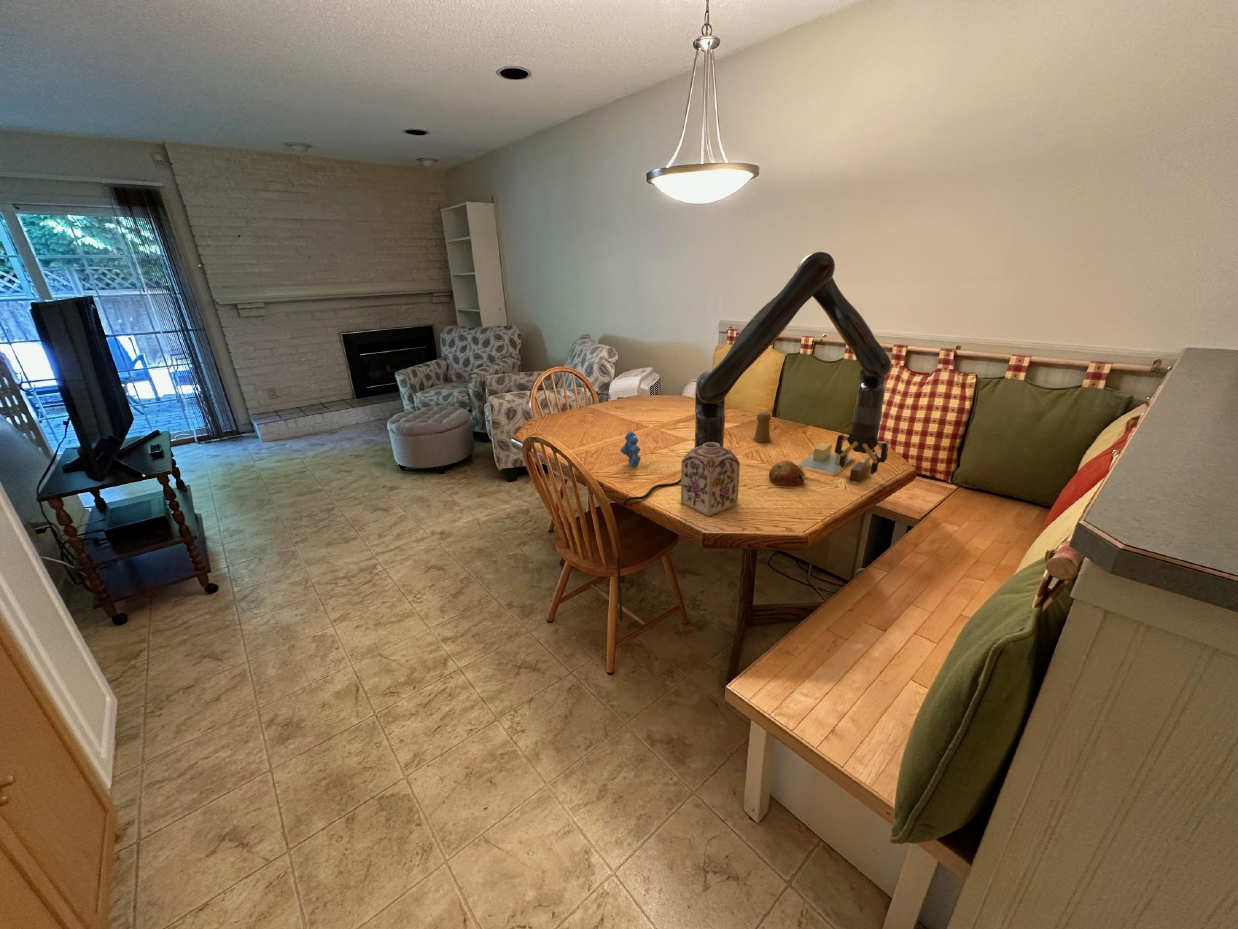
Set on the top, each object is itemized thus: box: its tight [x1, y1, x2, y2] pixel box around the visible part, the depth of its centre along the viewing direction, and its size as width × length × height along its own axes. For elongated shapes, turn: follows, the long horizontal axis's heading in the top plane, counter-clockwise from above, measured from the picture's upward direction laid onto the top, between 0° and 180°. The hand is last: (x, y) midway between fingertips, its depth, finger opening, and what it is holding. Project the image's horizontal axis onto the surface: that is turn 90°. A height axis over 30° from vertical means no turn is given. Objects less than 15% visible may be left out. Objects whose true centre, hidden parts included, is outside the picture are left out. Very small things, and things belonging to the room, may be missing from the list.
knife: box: [849, 455, 871, 483], centre depth 151 cm, size 17×2×4 cm, turn 140°
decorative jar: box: [680, 442, 741, 517], centre depth 133 cm, size 12×12×18 cm
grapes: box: [620, 430, 642, 469], centre depth 164 cm, size 12×7×12 cm, turn 14°
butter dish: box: [798, 452, 854, 474], centre depth 162 cm, size 18×12×1 cm, turn 140°
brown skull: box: [768, 460, 806, 487], centre depth 149 cm, size 10×10×8 cm
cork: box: [753, 411, 772, 444], centre depth 185 cm, size 6×6×11 cm
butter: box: [813, 442, 833, 461], centre depth 164 cm, size 8×3×4 cm, turn 140°
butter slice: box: [835, 445, 850, 465], centre depth 160 cm, size 8×2×4 cm, turn 140°
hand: (857, 470), depth 148 cm, fingers open, 8 cm apart
